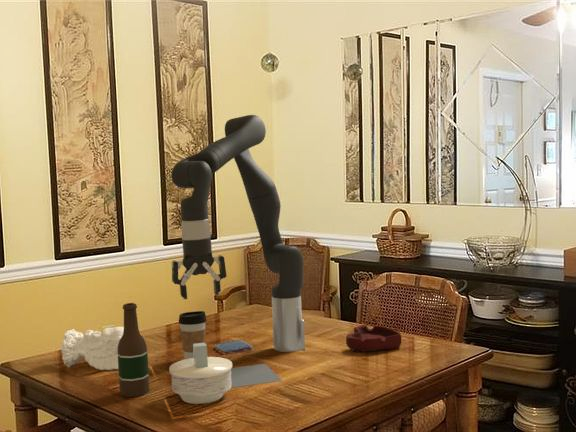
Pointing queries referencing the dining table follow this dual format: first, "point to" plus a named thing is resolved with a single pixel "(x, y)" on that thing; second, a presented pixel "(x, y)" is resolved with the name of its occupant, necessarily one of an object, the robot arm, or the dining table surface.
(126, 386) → the beer bottle
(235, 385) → the mat
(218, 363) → the lid
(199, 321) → the coffee cup
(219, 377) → the paper bowls
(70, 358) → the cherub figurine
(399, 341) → the ashtray
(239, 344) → the woven mat
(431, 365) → the dining table surface
